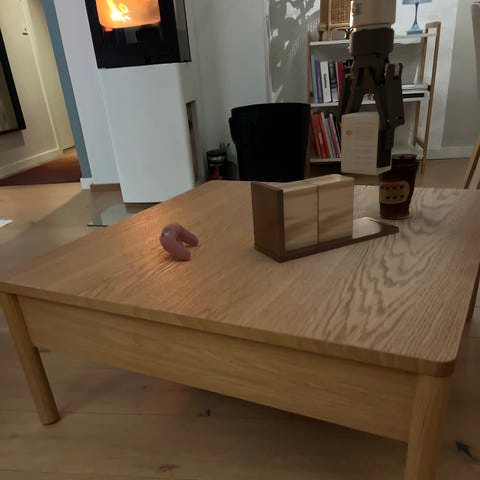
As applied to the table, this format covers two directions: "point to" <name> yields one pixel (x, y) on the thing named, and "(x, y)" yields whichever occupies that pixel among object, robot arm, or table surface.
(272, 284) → the table surface
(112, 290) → the table surface
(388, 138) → the robot arm
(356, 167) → the small box
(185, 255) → the pink curved tube
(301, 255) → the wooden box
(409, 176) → the coffee cup
